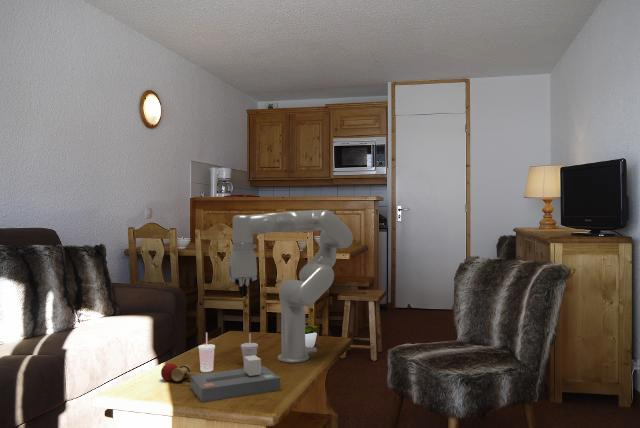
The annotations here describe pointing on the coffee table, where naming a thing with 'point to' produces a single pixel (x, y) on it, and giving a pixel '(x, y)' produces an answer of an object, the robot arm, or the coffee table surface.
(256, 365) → the breaker knob
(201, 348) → the beverage cup
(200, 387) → the switch panel
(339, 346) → the coffee table surface
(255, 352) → the smoothie
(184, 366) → the kendama
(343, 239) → the robot arm
